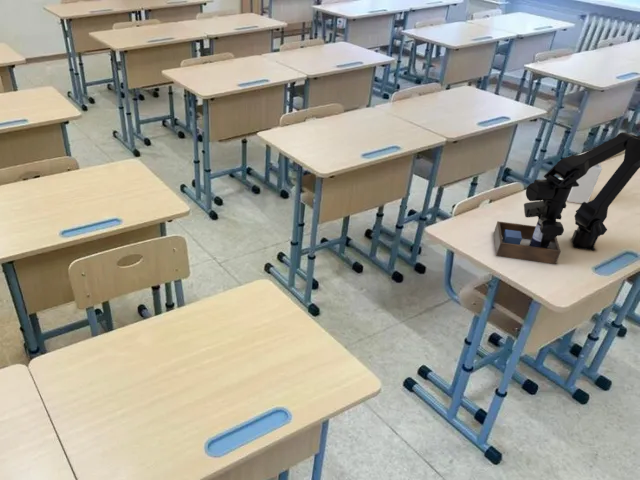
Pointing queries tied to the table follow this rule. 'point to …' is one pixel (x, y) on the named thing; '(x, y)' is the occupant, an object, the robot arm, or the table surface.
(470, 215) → the table surface
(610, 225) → the table surface
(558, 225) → the robot arm
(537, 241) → the beverage can
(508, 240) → the block
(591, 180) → the milk carton
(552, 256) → the wooden tray
